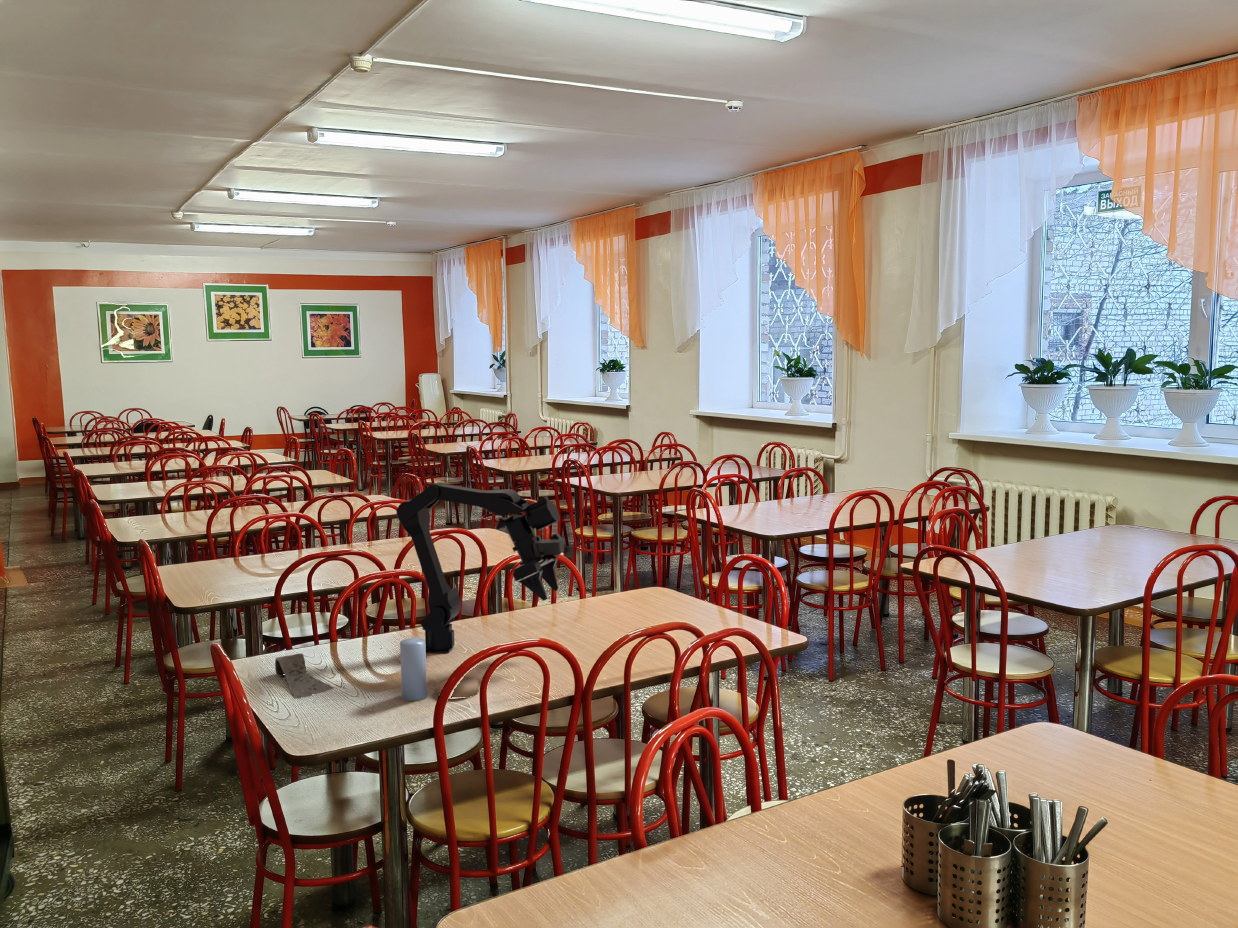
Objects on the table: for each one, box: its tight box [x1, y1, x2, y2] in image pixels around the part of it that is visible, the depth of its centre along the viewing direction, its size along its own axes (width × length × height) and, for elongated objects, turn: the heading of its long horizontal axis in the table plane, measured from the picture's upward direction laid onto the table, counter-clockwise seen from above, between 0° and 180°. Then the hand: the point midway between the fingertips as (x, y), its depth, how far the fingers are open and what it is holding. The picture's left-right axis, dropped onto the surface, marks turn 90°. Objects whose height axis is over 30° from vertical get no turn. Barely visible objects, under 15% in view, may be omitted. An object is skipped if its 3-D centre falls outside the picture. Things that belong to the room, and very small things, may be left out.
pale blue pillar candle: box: [399, 637, 428, 702], centre depth 206 cm, size 5×5×12 cm
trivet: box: [436, 676, 479, 698], centre depth 209 cm, size 9×9×2 cm
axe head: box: [274, 652, 335, 700], centre depth 216 cm, size 21×5×10 cm
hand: (551, 594), depth 231 cm, fingers open, 9 cm apart
